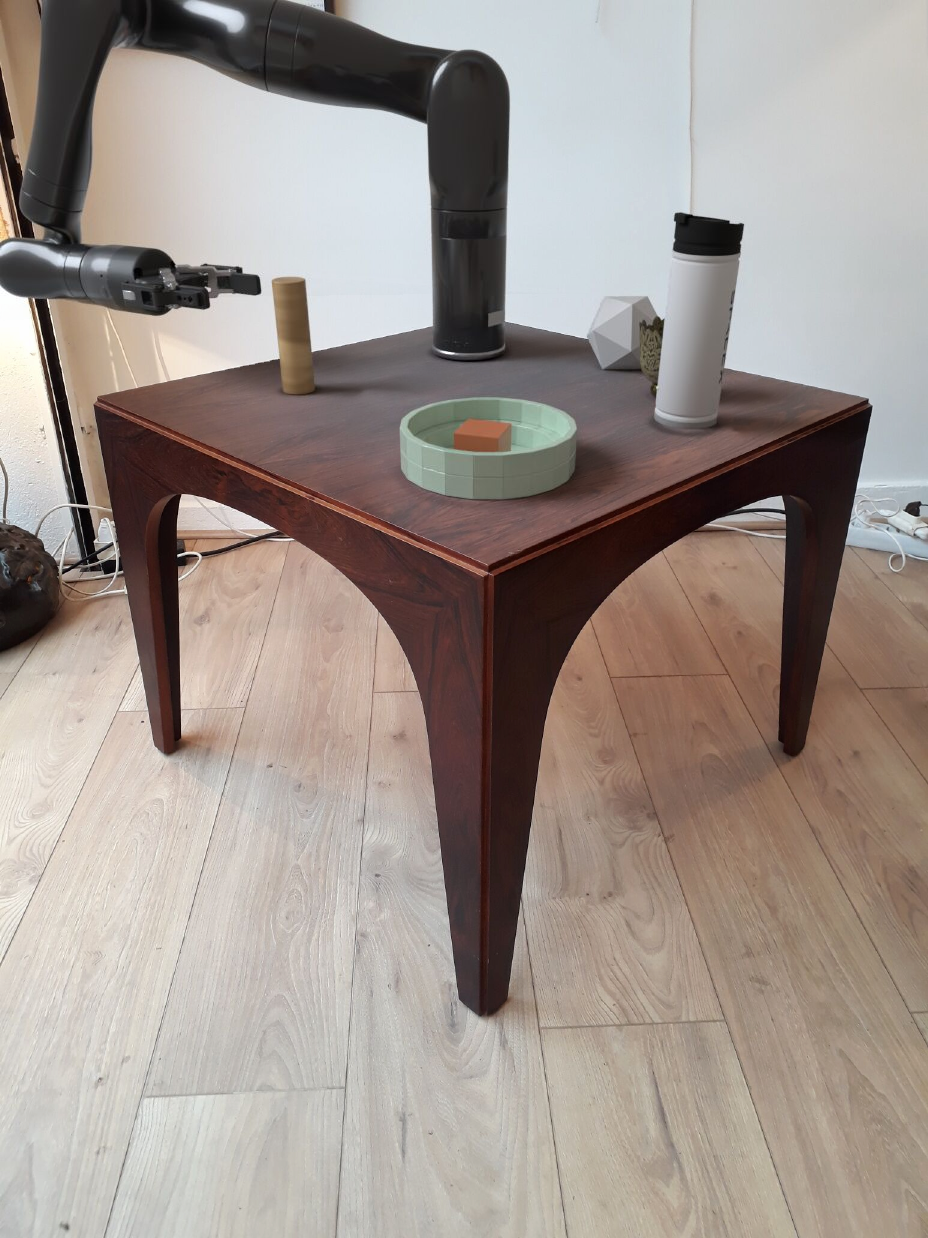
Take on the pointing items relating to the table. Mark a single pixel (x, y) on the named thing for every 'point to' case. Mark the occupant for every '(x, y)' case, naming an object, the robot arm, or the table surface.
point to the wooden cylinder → (293, 334)
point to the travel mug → (697, 320)
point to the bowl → (524, 471)
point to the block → (483, 436)
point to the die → (620, 330)
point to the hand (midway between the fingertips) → (234, 291)
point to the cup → (651, 350)
